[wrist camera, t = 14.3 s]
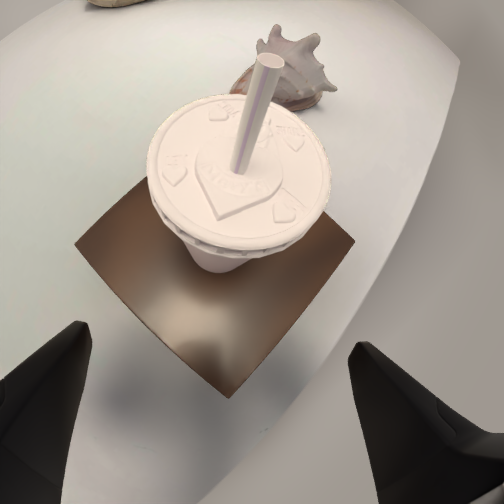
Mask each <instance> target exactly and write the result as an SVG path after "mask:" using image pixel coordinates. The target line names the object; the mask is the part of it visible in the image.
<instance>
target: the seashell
mask: <svg viewBox="0 0 504 504" xmlns="http://www.w3.org/2000/svg"><path fill="white" fill-rule="evenodd" d="M319 43H320V36H319V35H318V34H317V33H313V34H311V35H309V36H308V37H306V38H303V39H301V40H299V41H297V42H293V41H289V40H286V39H284V38H283V37H282V36H281V26H279V25H277V24H276V25H274V26H273V28H272V30H271V32H270V34H269V37H268V42H267V44H265V43H264V41H263V40H262V39H259V40H258V41H257V45H256V49H257V57H258V55H259V54H261V53H272V54H275V55H278V56H279V57H281V58H282V59H283V60H284V66H283V69H282V72H281V74H280V77H279V80H278V83H277V85H276V88H275V91H274V93H273V96H272V99H271V102H273V103H276V104H278V105H280V106H282V107H284V108H286V109H287V110H289V111H290V112H293V111H296V110H300V109H306V108H309V107H311V106H313V105H315V104H316V103H317V102H318V101H319V100H320V98H321V97H322V91H329V92H335V91H337V87H336V86H334V85H332V84H331V83H330V82H329V81H328V80H327V78H326V76H325V74H324V71H323V68H324V65H323V64H321V63H319V62H318V61H317V60H316V58H315V57H314V55H313V51H314V49H315V48H316V47H317V46H318V45H319ZM256 60H257V59H256ZM255 63H256V62H255ZM254 67H255V64H254V65H252V66H251V67H250V68H248V69H247V70H246V72H244V73H243V75H242V76H241V77H240V78H239V79H238V80H237V81H236V82H235V84H234V85H233V86H232V88H231V90H230V93H229V94H241V95H247V93H248V89H249V85H250V82H251V78H252V74H253V71H254Z"/></svg>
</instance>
